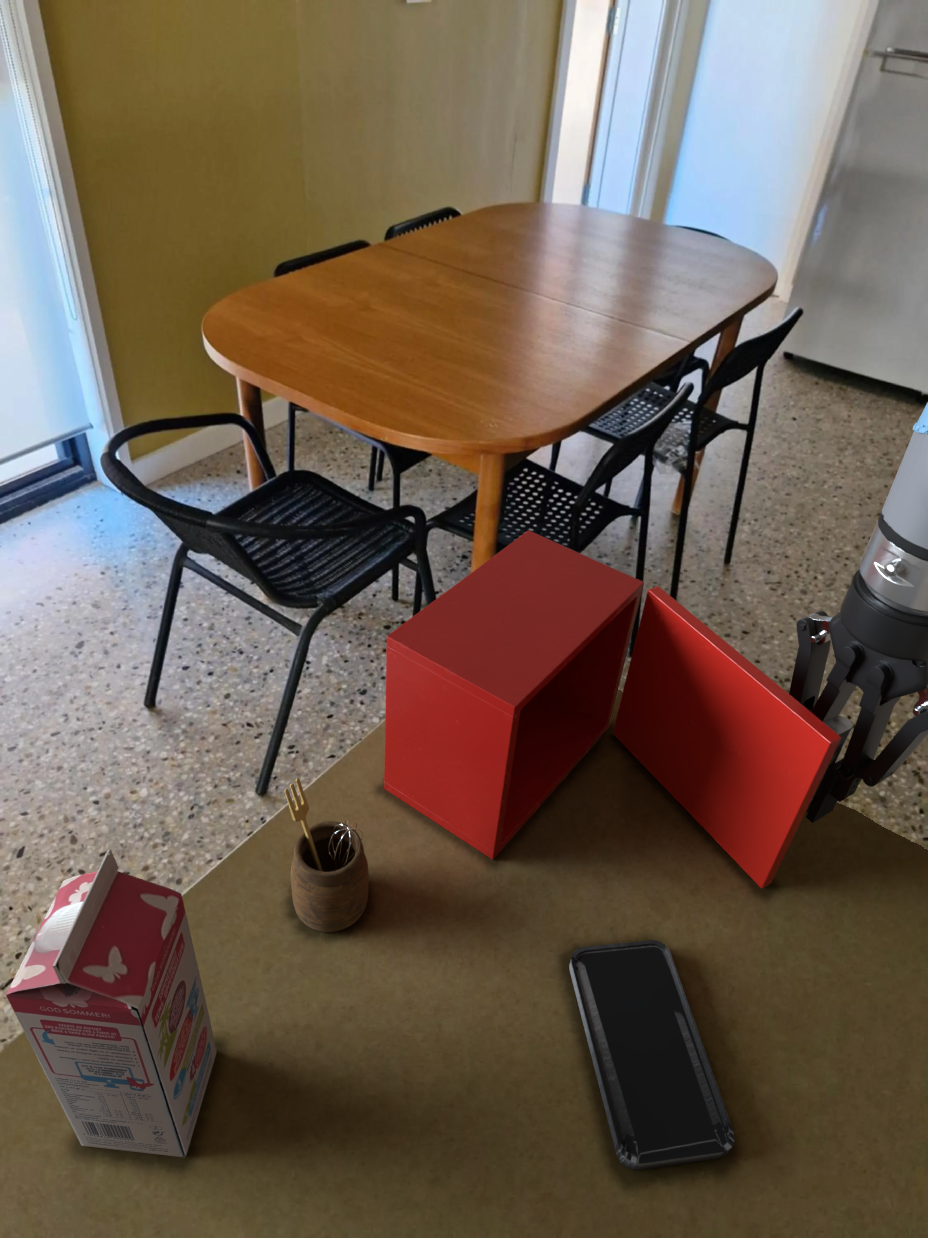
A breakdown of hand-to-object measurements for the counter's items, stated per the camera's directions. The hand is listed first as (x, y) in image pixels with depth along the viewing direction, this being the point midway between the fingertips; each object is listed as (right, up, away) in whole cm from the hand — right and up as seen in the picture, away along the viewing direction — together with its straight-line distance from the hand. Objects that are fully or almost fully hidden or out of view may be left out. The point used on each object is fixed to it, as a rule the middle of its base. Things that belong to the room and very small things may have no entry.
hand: (808, 804), depth 77 cm
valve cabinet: (-26, +3, +6) cm, 27 cm away
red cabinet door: (-7, 0, +5) cm, 9 cm away
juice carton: (-50, -15, -19) cm, 56 cm away
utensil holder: (-41, -6, -7) cm, 42 cm away
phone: (-17, -14, -14) cm, 27 cm away
